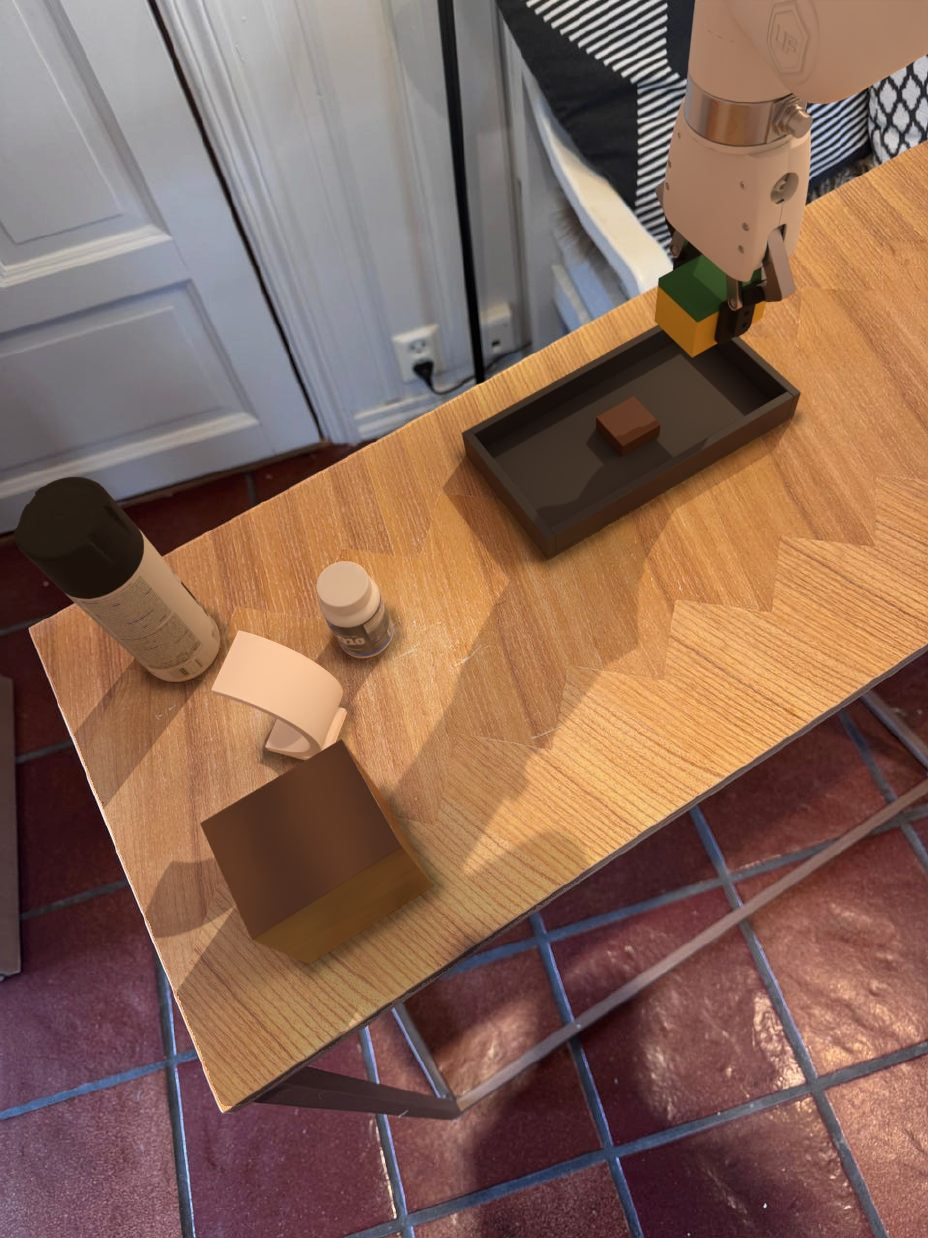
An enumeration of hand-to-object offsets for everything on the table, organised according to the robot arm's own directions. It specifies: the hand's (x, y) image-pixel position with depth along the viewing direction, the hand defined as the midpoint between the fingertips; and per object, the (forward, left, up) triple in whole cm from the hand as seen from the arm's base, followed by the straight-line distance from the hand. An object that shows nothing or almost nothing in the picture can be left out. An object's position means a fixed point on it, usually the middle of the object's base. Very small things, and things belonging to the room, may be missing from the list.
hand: (709, 311), depth 72 cm
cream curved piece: (+40, +20, -10) cm, 46 cm away
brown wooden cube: (+40, +32, -10) cm, 52 cm away
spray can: (+49, +9, -10) cm, 51 cm away
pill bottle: (+34, +13, -10) cm, 38 cm away
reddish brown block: (+7, +2, -9) cm, 12 cm away
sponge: (0, 0, -1) cm, 1 cm away
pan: (+7, +2, -10) cm, 12 cm away
